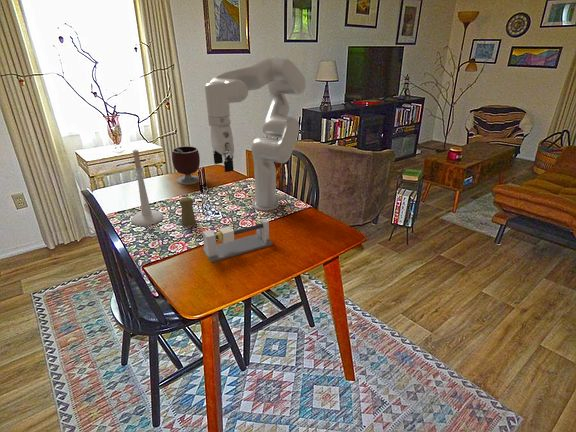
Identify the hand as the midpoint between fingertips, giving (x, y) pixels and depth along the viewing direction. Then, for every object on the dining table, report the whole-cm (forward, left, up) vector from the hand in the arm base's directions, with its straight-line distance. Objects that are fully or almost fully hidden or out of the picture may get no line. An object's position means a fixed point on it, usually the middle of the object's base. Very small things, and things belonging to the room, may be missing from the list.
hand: (223, 167), depth 130 cm
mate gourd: (-2, -62, -27) cm, 67 cm away
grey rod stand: (+2, +14, -27) cm, 30 cm away
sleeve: (+6, +14, -22) cm, 27 cm away
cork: (+12, -14, -27) cm, 32 cm away
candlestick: (+26, -26, -27) cm, 45 cm away
